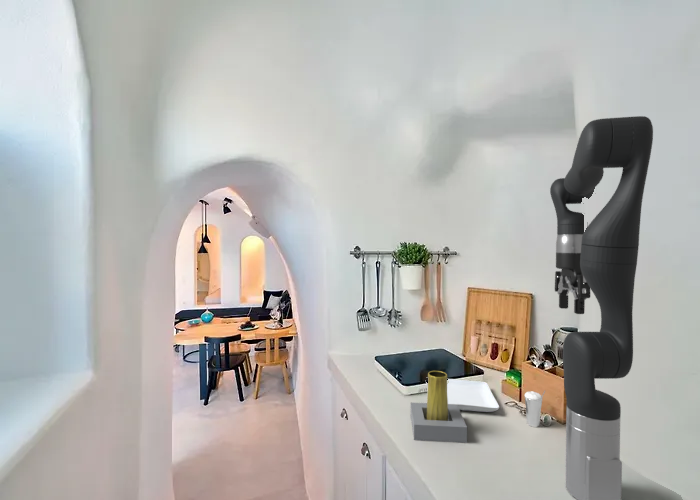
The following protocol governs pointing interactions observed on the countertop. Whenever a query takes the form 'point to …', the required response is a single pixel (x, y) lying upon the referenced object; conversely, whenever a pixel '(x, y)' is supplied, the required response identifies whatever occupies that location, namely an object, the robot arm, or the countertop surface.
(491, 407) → the salad plate
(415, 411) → the block
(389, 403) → the countertop surface
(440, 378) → the vase
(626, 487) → the countertop surface
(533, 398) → the milkshake
